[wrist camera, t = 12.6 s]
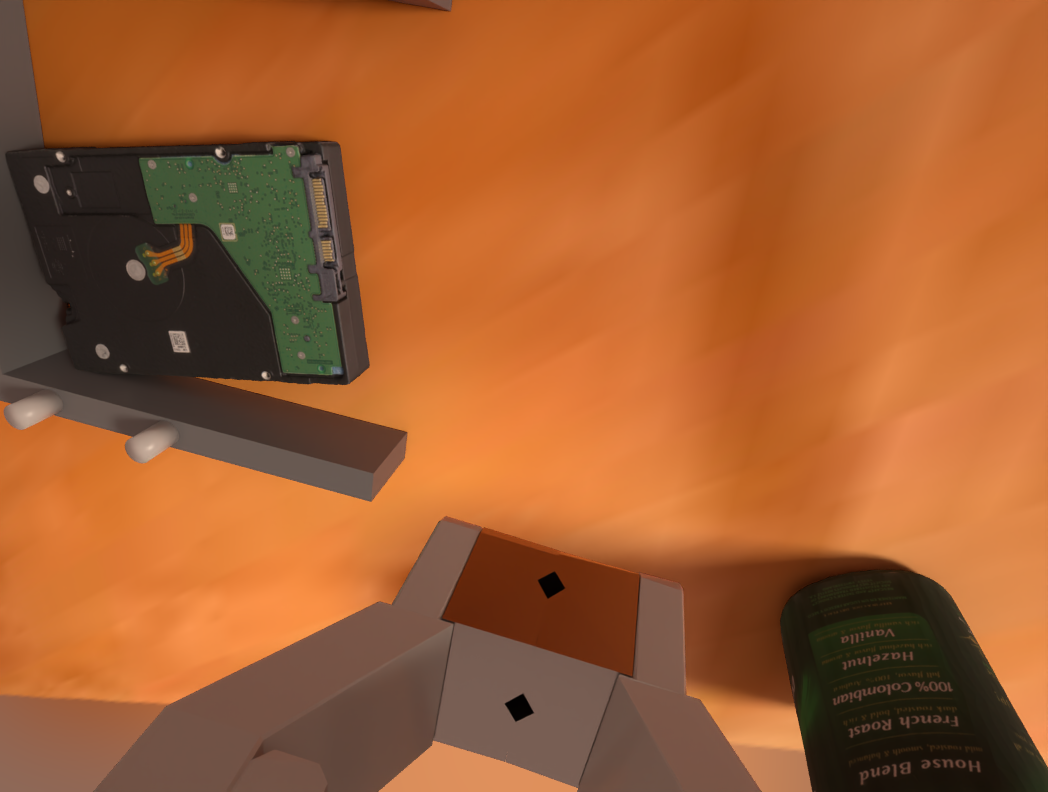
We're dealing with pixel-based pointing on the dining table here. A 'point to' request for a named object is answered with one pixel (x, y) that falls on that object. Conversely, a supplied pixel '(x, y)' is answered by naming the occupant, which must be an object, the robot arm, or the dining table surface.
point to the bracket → (151, 400)
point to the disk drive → (200, 258)
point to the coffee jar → (899, 691)
